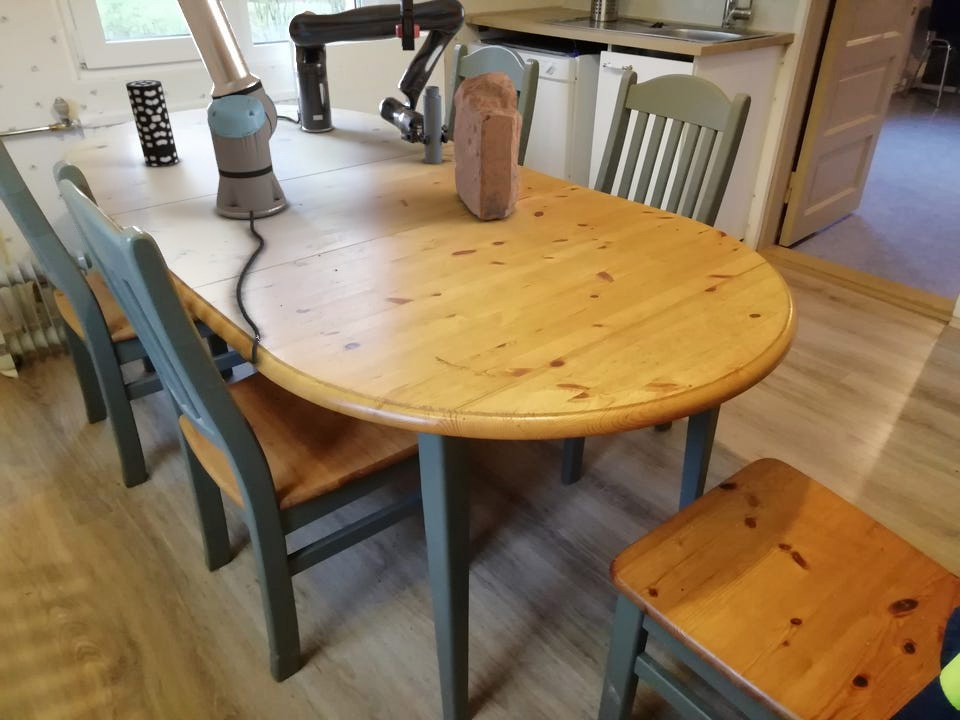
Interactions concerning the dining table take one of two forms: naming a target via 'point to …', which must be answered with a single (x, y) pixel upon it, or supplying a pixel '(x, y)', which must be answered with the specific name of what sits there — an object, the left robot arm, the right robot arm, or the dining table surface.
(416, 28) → the lid
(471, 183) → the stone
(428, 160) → the bottle
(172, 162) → the black white spotted cylinder
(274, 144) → the dining table surface
